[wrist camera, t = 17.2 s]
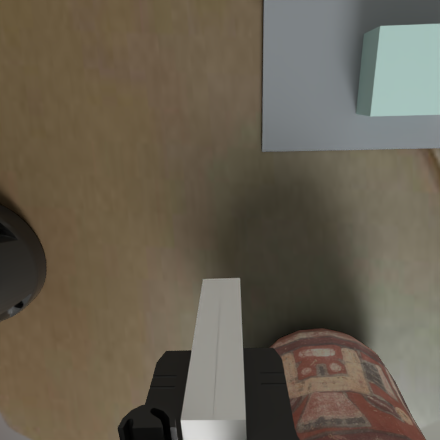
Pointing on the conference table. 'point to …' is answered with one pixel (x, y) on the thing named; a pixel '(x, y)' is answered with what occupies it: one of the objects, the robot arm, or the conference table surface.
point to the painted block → (400, 71)
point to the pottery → (342, 389)
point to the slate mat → (332, 76)
